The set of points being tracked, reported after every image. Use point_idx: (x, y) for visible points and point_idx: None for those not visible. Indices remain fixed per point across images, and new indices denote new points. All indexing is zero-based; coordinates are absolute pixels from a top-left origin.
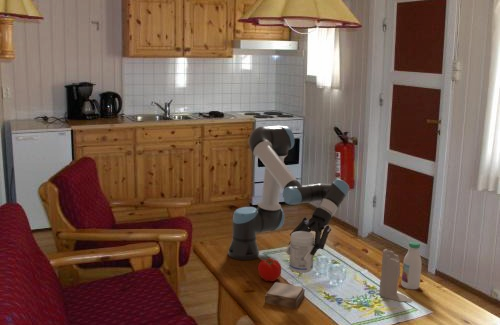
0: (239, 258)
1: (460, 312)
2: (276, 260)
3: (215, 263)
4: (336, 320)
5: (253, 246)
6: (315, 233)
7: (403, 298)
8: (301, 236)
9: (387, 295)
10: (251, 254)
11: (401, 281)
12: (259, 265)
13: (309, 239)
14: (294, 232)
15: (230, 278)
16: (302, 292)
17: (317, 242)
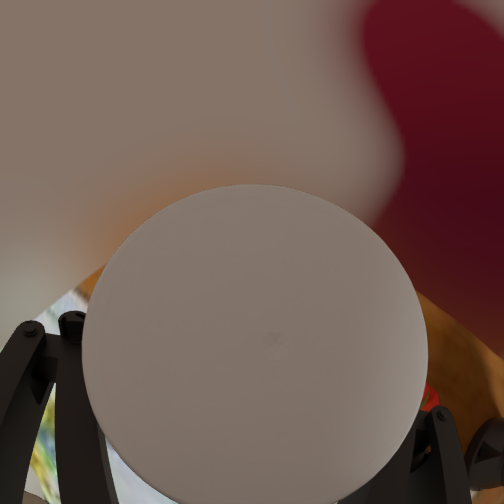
0: (483, 427)
1: None
2: None
3: (496, 364)
4: (67, 293)
5: (489, 467)
6: (106, 492)
7: None
8: (244, 262)
9: (27, 495)
10: (475, 456)
11: None
12: (428, 385)
13: (107, 269)
14: (416, 346)
15: (441, 328)
16: None
17: (59, 371)
